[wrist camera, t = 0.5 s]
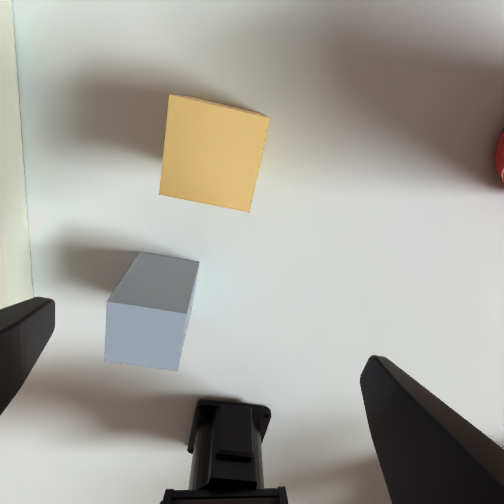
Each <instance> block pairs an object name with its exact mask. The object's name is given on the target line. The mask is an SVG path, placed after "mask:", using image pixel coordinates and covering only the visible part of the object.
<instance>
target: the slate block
mask: <svg viewBox="0 0 504 504" xmlns="http://www.w3.org/2000/svg"><path fill="white" fill-rule="evenodd" d="M198 268H199V262H197V261H192V260H186V259H180V258H174V257H169V256H163V255H157V254H152V253H146V252H139V254H138V255H137V257H136V258H135V260H134V261H133V263H132V264H131V266H130V267H129V269H128V270H127V272H126V273H125V275H124V276H123V278H122V279H121V281H120V282H119V284H118V285H117V287H116V288H115V290H114V291H113V293H112V294H111V296H110V297H109V299H108V300H107V311H106V336H105V362H112V363H120V364H127V365H135V366H142V367H150V368H157V369H165V370H172V371H178V367H179V362H180V358H181V353H182V349H183V345H184V340H185V336H186V332H187V327H188V323H189V318H190V314H191V310H192V304H193V298H194V292H195V286H196V280H197V274H198Z"/></svg>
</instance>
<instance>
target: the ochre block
mask: <svg viewBox="0 0 504 504" xmlns="http://www.w3.org/2000/svg"><path fill="white" fill-rule="evenodd" d="M269 122H270V118H269V117H267V116H265V115H263V114H261V113H257V112H253V111H249V110H244V109H240V108H236V107H232V106H228V105H223V104H219V103H215V102H211V101H207V100H202V99H198V98H194V97H189V96H180V95H171V94H169V102H168V112H167V122H166V132H165V142H164V151H163V161H162V171H161V181H160V191H159V195H164V196H169V197H174V198H179V199H184V200H189V201H194V202H199V203H204V204H209V205H215V206H220V207H225V208H230V209H235V210H240V211H245V212H249V211H250V207H251V202H252V198H253V193H254V189H255V184H256V180H257V176H258V171H259V167H260V162H261V158H262V153H263V149H264V144H265V140H266V135H267V131H268V126H269Z"/></svg>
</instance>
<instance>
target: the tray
mask: <svg viewBox="0 0 504 504" xmlns="http://www.w3.org/2000/svg"><path fill="white" fill-rule="evenodd" d="M31 298H33V288H32V274H31V260H30V246H29V232H28V218H27V204H26V190H25V176H24V163H23V149H22V135H21V121H20V107H19V93H18V79H17V65H16V51H15V38H14V24H13V10H12V0H0V309H2V308H5V307H8V306H11V305H14V304H17V303H20V302H22V301H25V300H28V299H31Z"/></svg>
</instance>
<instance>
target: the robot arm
mask: <svg viewBox="0 0 504 504" xmlns="http://www.w3.org/2000/svg"><path fill="white" fill-rule="evenodd" d="M54 328H55V302H54V300H52V299H49V298H43V297H34V298H31V299H28V300H25V301H22V302H20V303H17V304H14V305H11V306H8V307H5V308H2V309H0V415H1V414H2V413H3V411H4V410H5V408H6V407H7V406H8V404H9V403H10V402H11V400H12V399H13V398H14V396H15V395H16V393H17V392H18V391H19V389H20V388H21V386H22V385H23V383H24V382H25V380H26V378H27V377H28V375H29V373H30V372H31V370H32V368H33V366H34V365H35V363H36V361H37V359H38V358H39V356H40V354H41V353H42V351H43V349H44V347H45V346H46V344H47V342H48V340H49V339H50V337H51V335H52V333H53V331H54ZM360 386H361V391H362V395H363V400H364V405H365V410H366V415H367V419H368V424H369V428H370V433H371V436H372V440H373V443H374V446H375V450H376V453H377V456H378V459H379V462H380V466H381V469H382V472H383V475H384V478H385V482H386V485H387V488H388V491H389V494H390V498H391V501H392V504H504V449H503V448H501V447H500V446H499V445H498V444H496V443H495V442H494V441H492V440H491V439H490V438H489V437H487V436H486V435H485V434H483V433H482V432H481V431H480V430H478V429H477V428H476V427H474V426H473V425H472V424H471V423H469V422H468V421H467V420H465V419H464V418H463V417H462V416H460V415H459V414H458V413H457V412H455V411H454V410H453V409H451V408H450V407H449V406H448V405H446V404H445V403H444V402H442V401H441V400H440V399H439V398H437V397H436V396H435V395H433V394H432V393H431V392H430V391H428V390H427V389H426V388H424V387H423V386H422V385H421V384H419V383H418V382H417V381H416V380H414V379H413V378H412V377H410V376H409V375H408V374H407V373H405V372H404V371H403V370H401V369H400V368H399V367H398V366H396V365H395V364H394V363H392V362H391V361H390V360H389V359H387V358H386V357H382V356H376V355H372V356H371V357H369V359H368V361H367V363H366V365H365V368H364V370H363V372H362V374H361V377H360ZM270 418H271V410H270V409H269V408H264V407H256V406H248V405H239V404H231V403H223V402H215V401H207V400H200V401H198V402H197V404H196V409H195V414H194V419H193V424H192V428H191V433H190V438H189V443H188V449H187V451H188V452H189V453H191V454H193V458H192V466H191V474H190V481H189V489H188V490H174V489H166V490H165V494H164V498H163V501H161V502H160V504H288V500H287V494H286V489H285V487H278V488H264V481H263V466H262V451H261V444H262V441H263V438H264V436H265V433H266V430H267V427H268V424H269V421H270Z"/></svg>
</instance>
